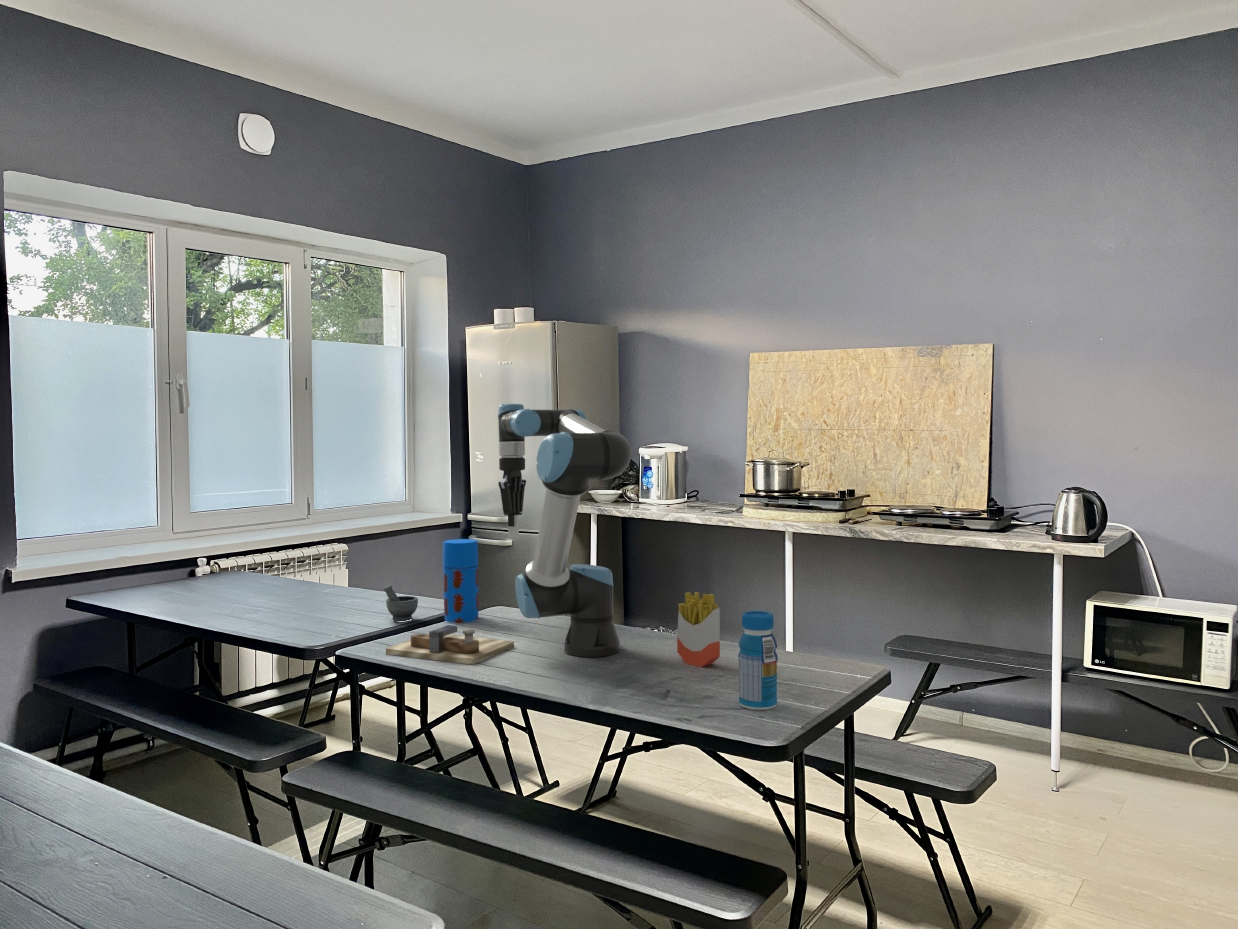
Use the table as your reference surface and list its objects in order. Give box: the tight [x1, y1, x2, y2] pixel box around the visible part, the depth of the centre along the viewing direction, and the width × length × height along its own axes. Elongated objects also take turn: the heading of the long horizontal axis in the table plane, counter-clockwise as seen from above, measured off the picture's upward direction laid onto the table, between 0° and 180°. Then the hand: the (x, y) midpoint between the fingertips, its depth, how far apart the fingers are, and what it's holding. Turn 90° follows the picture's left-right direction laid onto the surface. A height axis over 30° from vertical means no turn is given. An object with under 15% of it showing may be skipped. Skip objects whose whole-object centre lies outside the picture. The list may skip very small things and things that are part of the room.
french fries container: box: [676, 591, 721, 668], centre depth 224 cm, size 5×11×18 cm, turn 43°
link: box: [410, 627, 479, 654], centre depth 236 cm, size 22×5×6 cm, turn 63°
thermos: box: [442, 538, 480, 624], centre depth 280 cm, size 11×11×25 cm
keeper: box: [429, 624, 458, 653], centre depth 236 cm, size 3×9×6 cm, turn 156°
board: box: [385, 633, 515, 665], centre depth 240 cm, size 28×20×2 cm
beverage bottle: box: [737, 610, 779, 711], centre depth 190 cm, size 8×8×20 cm
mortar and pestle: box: [382, 584, 419, 622], centre depth 279 cm, size 11×9×12 cm
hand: (513, 537), depth 257 cm, fingers closed
